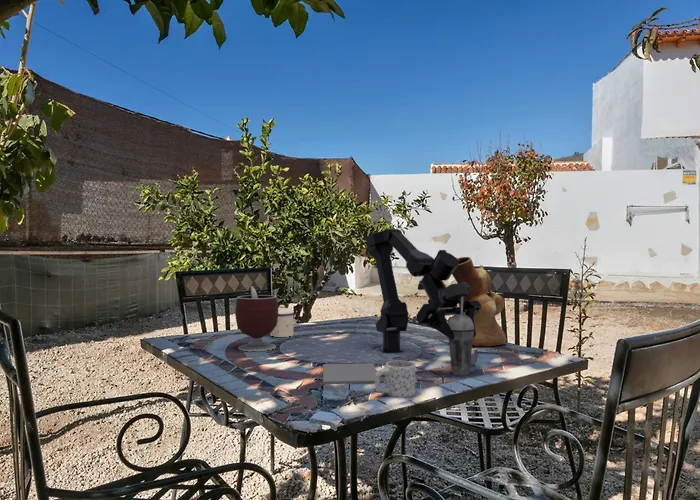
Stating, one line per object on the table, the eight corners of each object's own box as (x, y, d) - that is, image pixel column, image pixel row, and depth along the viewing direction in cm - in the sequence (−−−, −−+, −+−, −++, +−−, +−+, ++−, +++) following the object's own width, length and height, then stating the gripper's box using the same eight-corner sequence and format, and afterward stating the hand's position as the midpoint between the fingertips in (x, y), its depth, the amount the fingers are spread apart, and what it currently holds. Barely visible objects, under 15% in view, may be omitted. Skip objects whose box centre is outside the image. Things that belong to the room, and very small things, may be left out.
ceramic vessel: (516, 345, 165) (515, 256, 165) (467, 352, 154) (467, 257, 154) (482, 338, 178) (482, 256, 178) (435, 343, 168) (435, 256, 168)
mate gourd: (283, 350, 157) (282, 288, 157) (239, 354, 151) (239, 290, 151) (271, 342, 171) (271, 285, 171) (231, 345, 166) (231, 286, 166)
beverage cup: (441, 373, 127) (440, 297, 127) (454, 368, 132) (454, 295, 132) (467, 378, 122) (466, 298, 122) (479, 372, 128) (479, 296, 128)
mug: (404, 387, 115) (404, 359, 115) (421, 394, 109) (421, 365, 109) (367, 393, 110) (367, 364, 110) (383, 401, 104) (383, 370, 104)
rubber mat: (323, 366, 135) (323, 364, 135) (373, 365, 136) (373, 363, 136) (323, 384, 117) (323, 381, 117) (380, 383, 118) (380, 380, 118)
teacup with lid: (275, 333, 189) (275, 303, 189) (297, 334, 187) (297, 304, 187) (262, 338, 178) (262, 307, 178) (285, 340, 175) (285, 307, 175)
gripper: (422, 273, 126) (450, 320, 117) (476, 271, 135) (507, 315, 126) (405, 300, 133) (430, 347, 124) (458, 297, 142) (485, 341, 132)
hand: (464, 337), depth 126 cm, fingers closed on beverage cup, 7 cm apart
